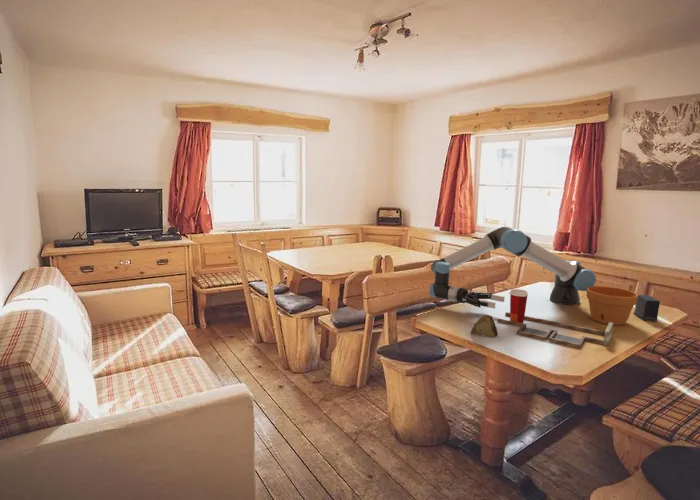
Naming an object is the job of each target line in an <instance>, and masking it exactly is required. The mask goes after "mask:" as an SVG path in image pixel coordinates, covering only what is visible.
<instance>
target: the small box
mask: <svg viewBox="0 0 700 500" xmlns="http://www.w3.org/2000/svg"><path fill="white" fill-rule="evenodd" d="M660 303H661V301H660V300H659V299H657V298H654V297H653V296H651V295H644V294H638V298H637V302H636V304H635V305H634V312H633V315H635V316H636V317H637V318H639V319H641V320H642V321H648V322H658V315H659V310H660Z"/></svg>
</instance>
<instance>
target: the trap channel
mask: <svg viewBox="0 0 700 500" xmlns="http://www.w3.org/2000/svg"><path fill="white" fill-rule="evenodd" d="M505 316H506V317H510V312H508V311H506V312H505ZM524 321H531V322H534V323H535V322H536V323H541V324H546V325H550V326H555V327H560V328H565V329H570V330H574V331H575V330H576V331H579V332H580V331H581V332H584V333H585V332H586V333H589V334H596V335H600V336H603V337H604V338H603V339H600V338H594V337H590V336H585V335H582V336H581V338H577V337H572V336H567V335H563V334H560V333H558V330H555V329H552V328H549V330H547V331H545V330H541V329H535V328H530V327H528V326H527V325H528V324H527V323H524V322H523V323H518V322H514V321H510V319H503V318H497V323H501V324H506V325H511V326H514V327H515V326H516V327H519V328H518V329H517V330H516V335H518V334H519V335H518V336H522V335H523V336H524V337H526V338H531V337H532V339H535V338H536V340H540V339H541V340H540V341H544V340H546V341H548V342H549V341H550V343H553V342H555V343H554V344H558V343H559V345H562V344H563V346H567V345H569V346H568V347H571V346H573V347H572V348H576V347H578V348H577V349H581V348H580V347H582V346H583V344H584V343H583V342H585V341H586V342H590V343H595V344H600V345H603V346H609V343H610V342H611V339H612V336H613V328H614V325H613V323H611V322H609V324H607V326H606V329H605V330H603V331H602V330H599V329H593V328H589V327H583V326H578V325H573V324H567V323H563V322H558V321H553V320H548V319H543V318H538V317H532V316H528V315H525V316H524ZM547 338H548V339H547Z"/></svg>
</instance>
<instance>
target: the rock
mask: <svg viewBox="0 0 700 500" xmlns="http://www.w3.org/2000/svg"><path fill="white" fill-rule="evenodd" d="M472 333H473V334H472ZM498 333H499V332H498V328H497V326H496V323H495V320H494V318H493V316H492V315H489V314H486V315H482V316H481V317H480V318H479V319H478V320H477V321H476V322H475V323H474V324H473V326H472V327H471V331H470V334H472V335H476V334H478V336H482V335H484V336H483V337H487V336H489V338H495V337H498V336H499V334H498ZM497 335H498V336H497Z"/></svg>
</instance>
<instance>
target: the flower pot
mask: <svg viewBox="0 0 700 500" xmlns="http://www.w3.org/2000/svg"><path fill="white" fill-rule="evenodd" d="M638 295H639V294H638V293H637V292H634V291H632V290H628V289H626V288H621V287H613V286H604V285H602V286H601V285H594V286H592V287H588V288H587V291H586V298H587V300H588V304H589V312H590V317H591V320H594V321H595V322H598V323H600V324H606V325H608V324H609V322H611V323H613V326H623V325H626V323H627V322H628V320H629V318H630V315H631V313H632V311H633V308H634V307H635V305H636V302H637V298H638Z"/></svg>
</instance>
